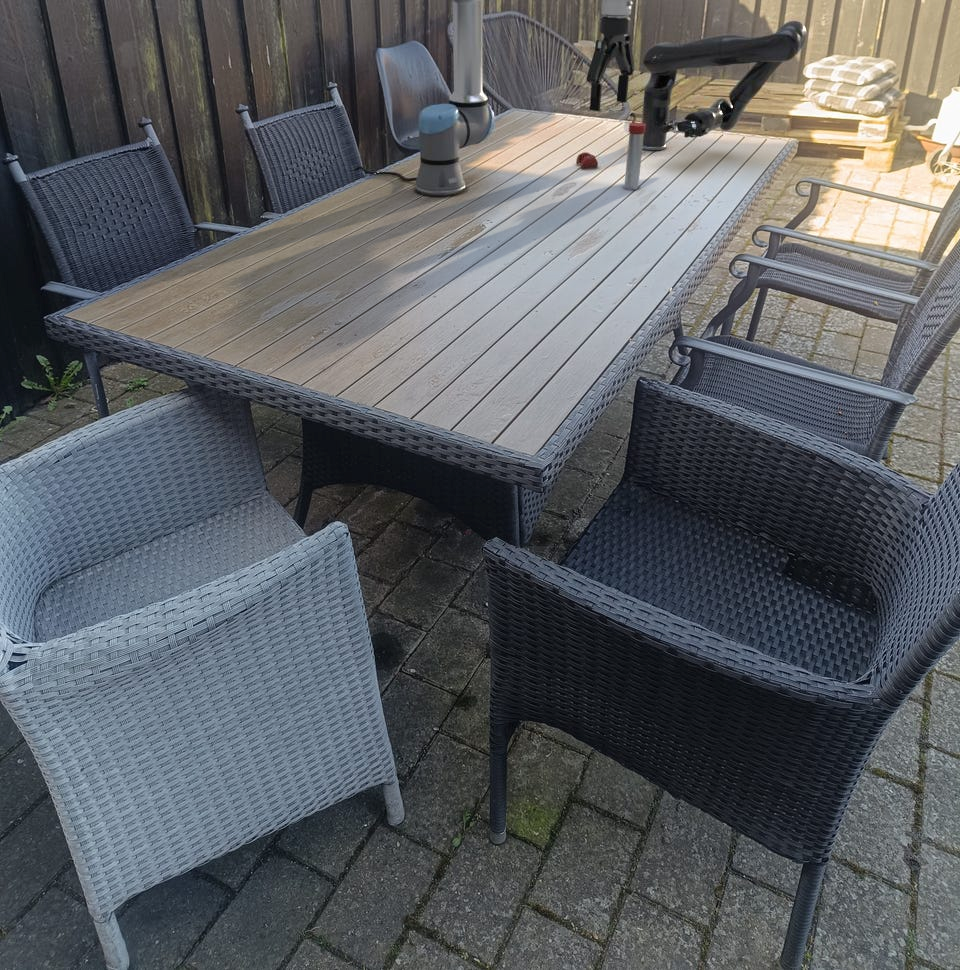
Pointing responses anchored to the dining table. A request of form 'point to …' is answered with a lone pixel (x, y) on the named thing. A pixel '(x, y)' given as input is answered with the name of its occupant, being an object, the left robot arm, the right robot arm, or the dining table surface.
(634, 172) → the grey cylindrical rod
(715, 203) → the dining table surface
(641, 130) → the lid
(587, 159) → the dental model
